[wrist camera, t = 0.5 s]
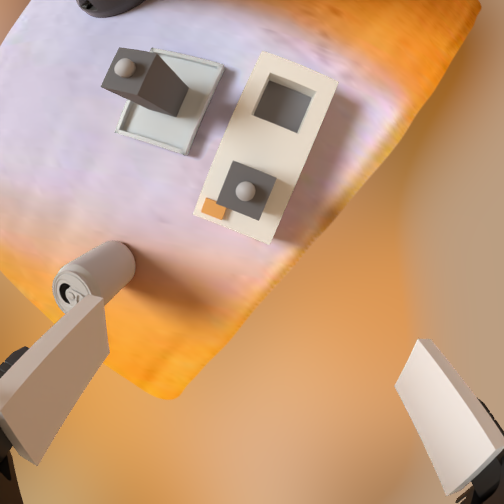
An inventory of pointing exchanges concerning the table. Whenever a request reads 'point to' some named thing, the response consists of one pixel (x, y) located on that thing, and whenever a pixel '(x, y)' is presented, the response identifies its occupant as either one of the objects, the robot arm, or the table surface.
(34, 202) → the table surface
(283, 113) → the strip
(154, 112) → the tray
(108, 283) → the beverage can
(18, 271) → the table surface
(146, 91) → the plug
